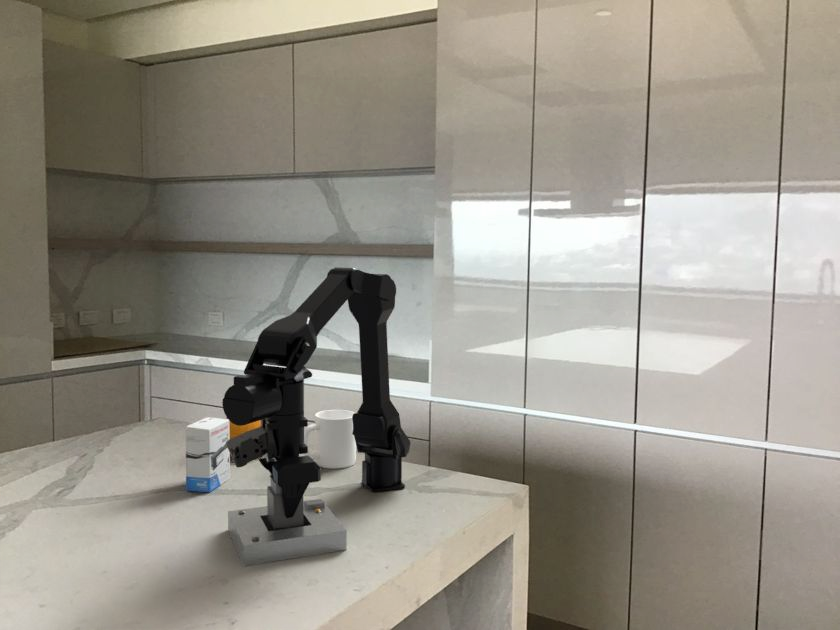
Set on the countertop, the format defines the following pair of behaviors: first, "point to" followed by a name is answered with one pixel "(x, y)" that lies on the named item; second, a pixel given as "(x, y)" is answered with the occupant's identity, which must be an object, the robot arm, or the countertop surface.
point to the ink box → (207, 454)
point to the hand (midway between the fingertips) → (285, 511)
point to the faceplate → (285, 534)
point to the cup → (333, 439)
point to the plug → (281, 509)
